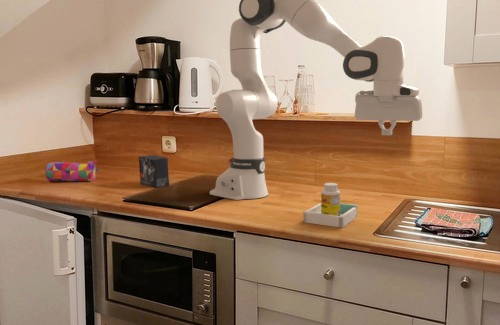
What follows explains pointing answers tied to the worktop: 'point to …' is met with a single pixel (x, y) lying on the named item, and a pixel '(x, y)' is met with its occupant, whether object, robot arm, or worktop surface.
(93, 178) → the pencil case
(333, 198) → the supplement bottle
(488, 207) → the worktop surface
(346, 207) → the teal flat bar
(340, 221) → the tray
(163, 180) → the small box
